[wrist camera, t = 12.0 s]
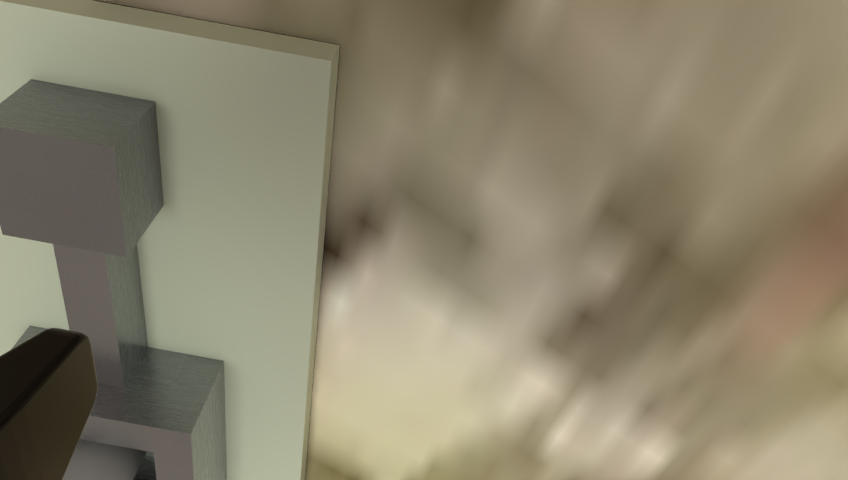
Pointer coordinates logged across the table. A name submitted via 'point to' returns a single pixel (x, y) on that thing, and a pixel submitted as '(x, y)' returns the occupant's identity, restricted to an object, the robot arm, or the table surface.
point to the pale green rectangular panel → (200, 208)
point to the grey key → (109, 268)
